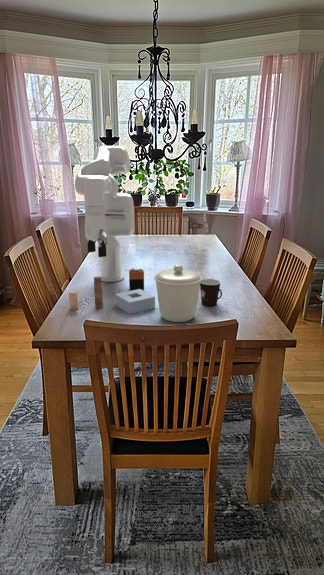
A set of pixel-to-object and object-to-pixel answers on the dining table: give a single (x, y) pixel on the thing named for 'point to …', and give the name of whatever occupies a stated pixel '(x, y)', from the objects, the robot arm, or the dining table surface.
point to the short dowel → (73, 300)
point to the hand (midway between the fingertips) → (97, 254)
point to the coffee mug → (210, 292)
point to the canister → (177, 293)
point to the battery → (136, 279)
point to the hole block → (134, 301)
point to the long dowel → (98, 292)
